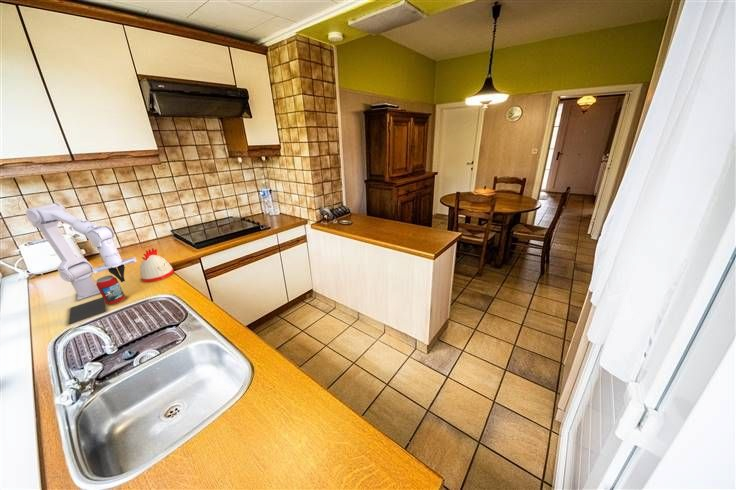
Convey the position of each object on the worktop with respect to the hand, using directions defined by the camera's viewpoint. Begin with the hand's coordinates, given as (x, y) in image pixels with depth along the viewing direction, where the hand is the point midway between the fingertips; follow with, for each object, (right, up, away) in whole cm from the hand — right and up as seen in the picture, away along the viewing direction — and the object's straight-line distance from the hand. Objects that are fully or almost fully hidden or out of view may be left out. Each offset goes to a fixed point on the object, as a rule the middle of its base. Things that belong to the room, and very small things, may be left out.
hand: (122, 281), depth 121 cm
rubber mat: (-10, -12, -5) cm, 17 cm away
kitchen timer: (-1, 0, +22) cm, 22 cm away
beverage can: (-3, -9, 0) cm, 10 cm away
